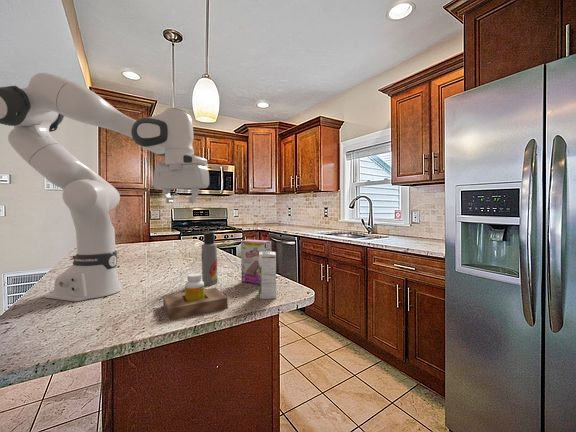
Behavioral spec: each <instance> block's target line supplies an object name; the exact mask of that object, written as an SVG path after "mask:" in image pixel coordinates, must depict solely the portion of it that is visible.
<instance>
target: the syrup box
mask: <svg viewBox="0 0 576 432" xmlns="http://www.w3.org/2000/svg"><path fill="white" fill-rule="evenodd" d="M257 285H258V289H257V290H258V291H257V292H258V293H257V295H258V300H270V299H271V300H272V299H273V300H274V299H275V300H276V298H277V252H276V251H271V252H270V251H265V252H259V267H258V284H257Z"/></svg>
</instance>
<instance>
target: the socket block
mask: <svg viewBox="0 0 576 432" xmlns="http://www.w3.org/2000/svg"><path fill="white" fill-rule="evenodd" d="M204 293H205V299H201V300H195V301H190V302H186V296H185V292H180V293H175V294H174V293H173V294H168V295H163V296H162V301H163V302H162V304H163V305H162V306H163V308H164V310H165V313H166V316H167V319H168V320H175V319H179V318H184V317H189V316H194V315H201V314H203V313H209V312H214V311H215V312H216V311H219V310H224V309H228V305H229V304H228V301H229V300H228V297H227V296H226V295H225V294H224V293H222V292H221V291H220V290H219V289H218V288H217V287H212V288H211V287H210V288H206V289H205V288H204Z"/></svg>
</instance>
